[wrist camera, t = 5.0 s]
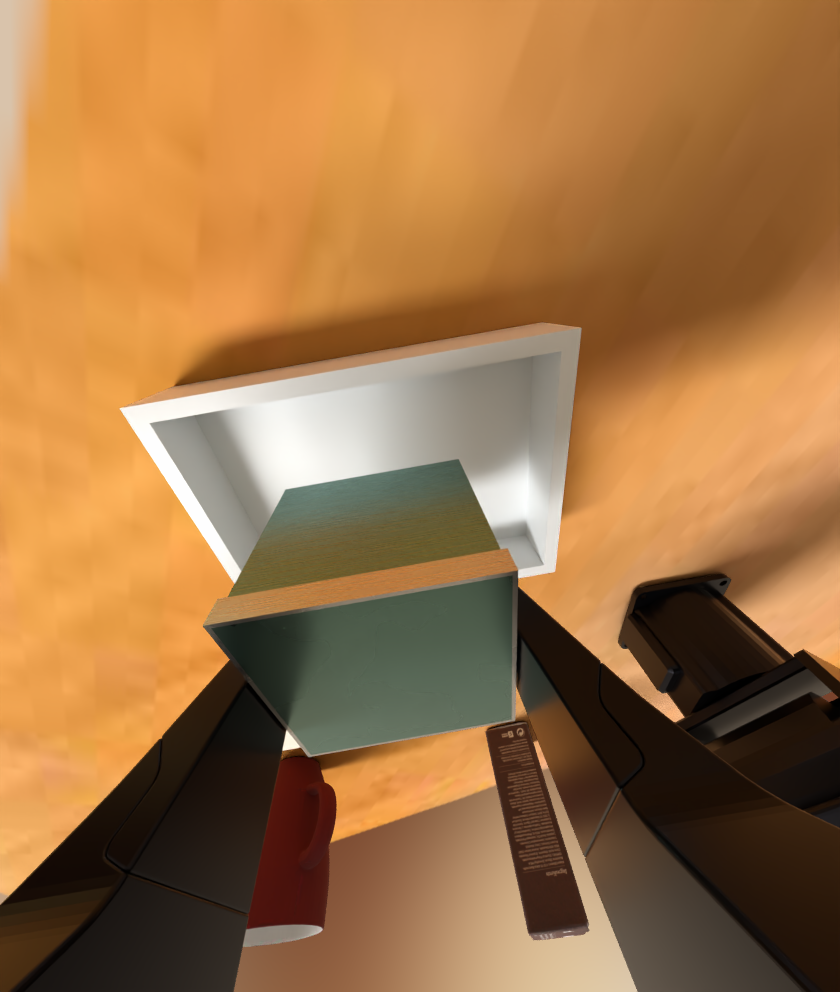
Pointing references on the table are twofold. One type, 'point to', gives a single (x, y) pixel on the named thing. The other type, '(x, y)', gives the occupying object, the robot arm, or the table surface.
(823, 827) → the robot arm
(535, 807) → the box
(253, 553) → the tin
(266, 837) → the mug
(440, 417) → the tote
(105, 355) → the table surface
